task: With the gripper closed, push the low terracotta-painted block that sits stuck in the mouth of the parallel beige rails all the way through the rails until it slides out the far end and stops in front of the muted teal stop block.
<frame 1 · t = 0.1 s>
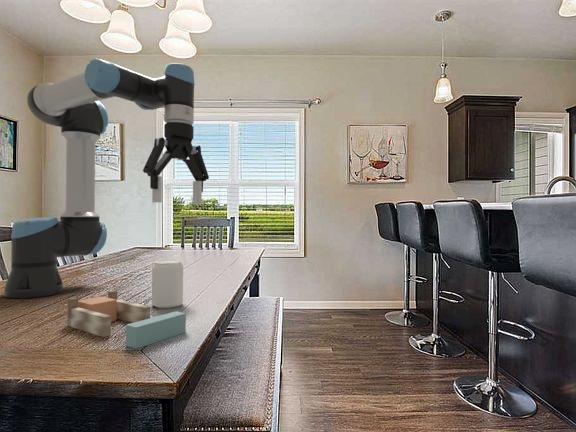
hand: (178, 203, 99), 28 cm above the table, fingers open, 13 cm apart
beverage can: (167, 306, 101), on the table
stop block: (157, 338, 74), on the table
parallel beige rails: (109, 324, 83), on the table
block: (96, 321, 86), on the table
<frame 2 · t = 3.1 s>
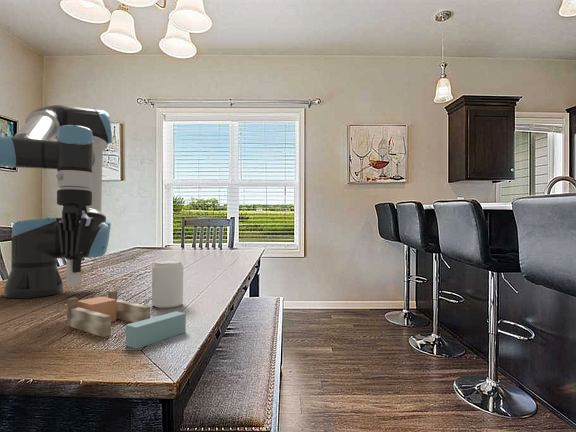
hand: (73, 285, 91), 7 cm above the table, fingers closed
nothing on the table moved.
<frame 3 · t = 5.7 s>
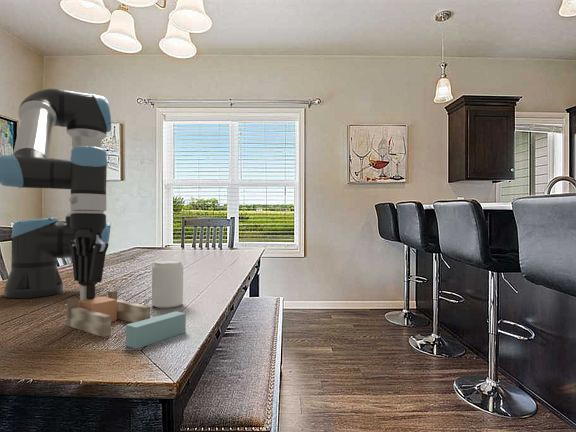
hand: (87, 312, 87), 2 cm above the table, fingers closed
block: (96, 321, 86), on the table, touching gripper
everything else where it was.
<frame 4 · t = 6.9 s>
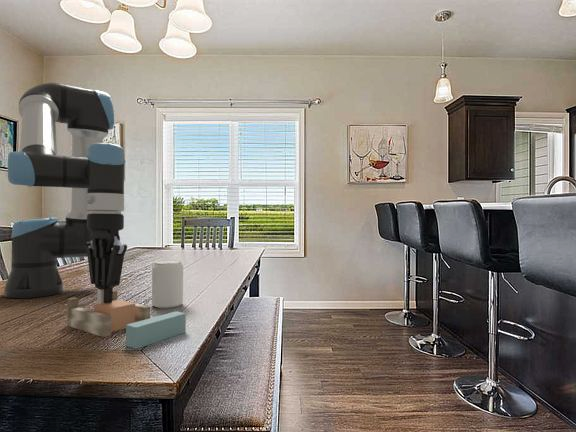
hand: (104, 316, 84), 2 cm above the table, fingers closed
block: (114, 326, 82), on the table, touching gripper
everything else where it was.
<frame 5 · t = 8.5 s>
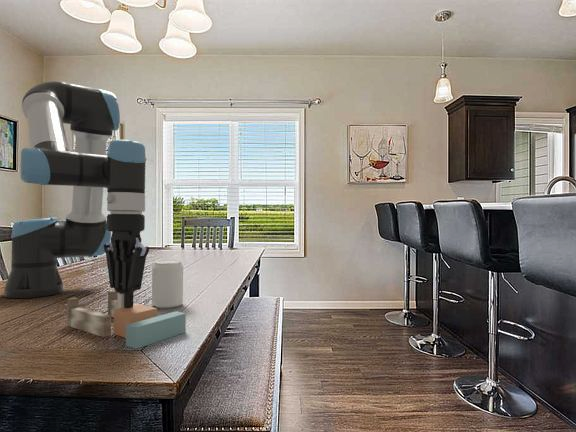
hand: (124, 322, 80), 2 cm above the table, fingers closed
block: (135, 332, 78), on the table, touching gripper
everything else where it was.
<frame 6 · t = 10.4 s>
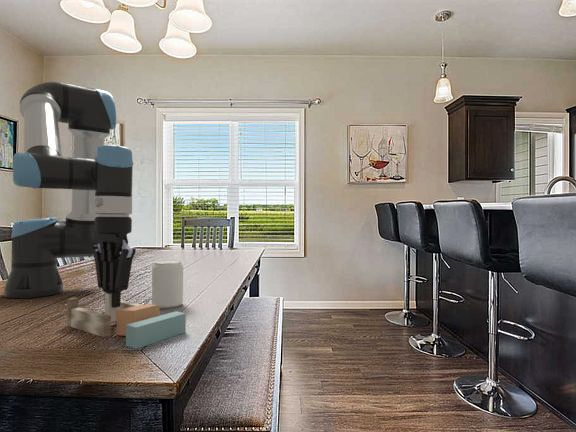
hand: (112, 320, 83), 1 cm above the table, fingers closed
block: (139, 331, 77), on the table, tilted 8°
everything else where it was.
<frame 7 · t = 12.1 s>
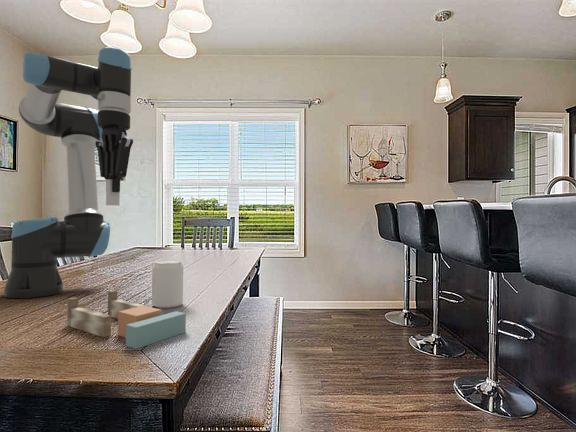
hand: (112, 205, 94), 27 cm above the table, fingers closed
block: (139, 334, 77), on the table
everything else where it was.
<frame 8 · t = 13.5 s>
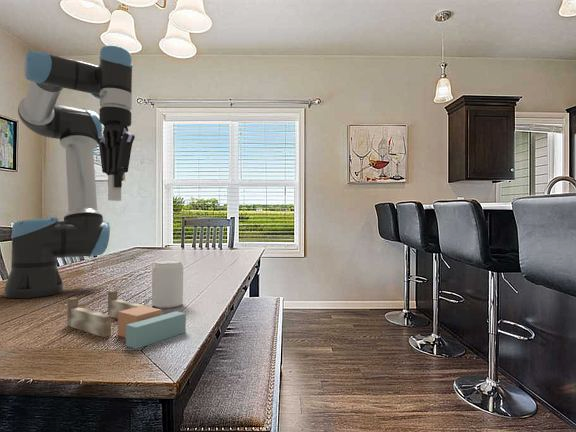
hand: (114, 200, 96), 28 cm above the table, fingers closed
nothing on the table moved.
at the end: block inside the target area (0.8 cm from its centre), on the table; block tilted 0°; the gripper is holding nothing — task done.
